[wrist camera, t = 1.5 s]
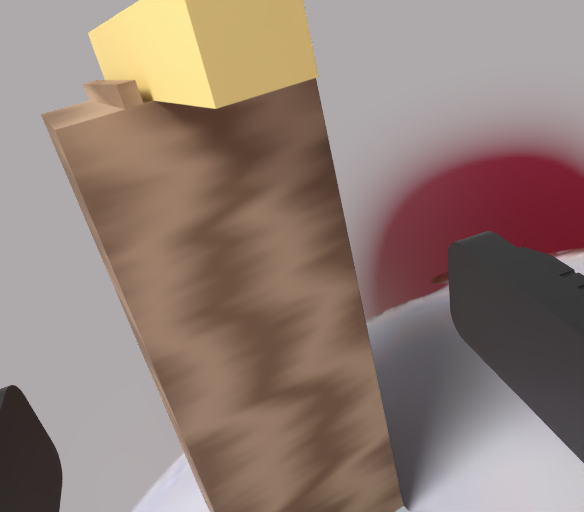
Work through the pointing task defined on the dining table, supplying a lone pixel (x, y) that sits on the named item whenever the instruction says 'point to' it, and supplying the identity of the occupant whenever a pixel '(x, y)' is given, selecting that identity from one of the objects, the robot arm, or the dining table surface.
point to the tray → (402, 509)
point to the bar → (207, 49)
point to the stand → (238, 290)
